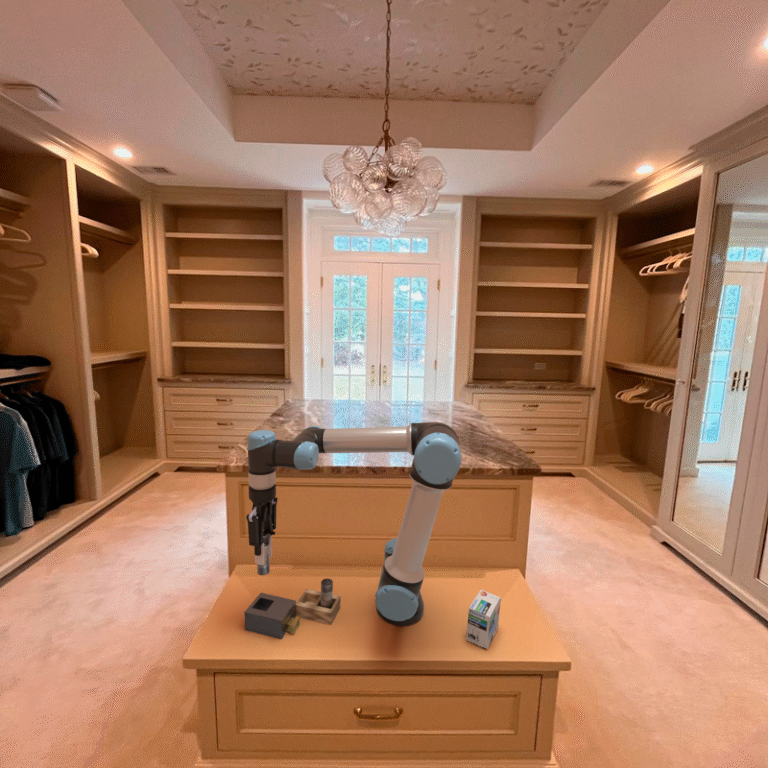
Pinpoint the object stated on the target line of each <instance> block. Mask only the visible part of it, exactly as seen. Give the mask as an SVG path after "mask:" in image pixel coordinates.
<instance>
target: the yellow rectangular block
mask: <svg viewBox="0 0 768 768" xmlns="http://www.w3.org/2000/svg"><path fill="white" fill-rule="evenodd" d="M300 621H301V618H300V617H297V616H296V617H295V618H293V617H290V619H289V620H288V622H287V623H286V625H285V632H288V633H289V634H291V635H294V634H295V633H296V631H297V630H298V628H299V627H300Z"/></svg>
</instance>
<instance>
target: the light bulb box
mask: <svg viewBox="0 0 768 768" xmlns="http://www.w3.org/2000/svg"><path fill="white" fill-rule="evenodd" d="M501 602H502V597H500V596H497V595H495V594H493V593H491V592H488V591H485V590H484V589H480V590H479V591H478V593H477V595H476V596H475V597H474V599H473V600H472V602H471V604H470V605H469V607H468V612H467V615H468V616H467V626H466V636H465V637H466V638H465V639H466V641H467V642H469V643H471V642H472V643H471V644H473V643H475V644H477V645H479V646H478V647H480V646H482V647H484V648H488V647H490V646H491V644H490V643H492V642H491V641H493V640H494V638H495V636H496V634H497V632H498V630H499V622H500V621H499V620H500V613H501V611H500V610H501ZM497 629H498V630H497ZM496 631H497V632H496ZM495 633H496V634H495ZM494 635H495V636H494ZM493 637H494V638H493ZM492 639H493V640H492ZM475 644H474V645H475ZM477 645H476V646H477ZM489 645H490V646H489ZM482 647H481V648H482ZM484 648H483V649H484ZM488 649H489V648H488Z"/></svg>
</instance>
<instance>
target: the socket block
mask: <svg viewBox="0 0 768 768" xmlns="http://www.w3.org/2000/svg"><path fill="white" fill-rule="evenodd" d="M296 603H297V600H294V599H290V598H287V597H281V596H277V595H274V594H268V593H264V592H259V594H258V596H256V598H255V599H254V600H253V601H252V602H251V604H249V605H248V607H247V608H246V610H245V611H244V613H243V614H244V631H247V632H251V633H256V634H259V635H264V636H267V637H271V638H275V639H277V640H283V638H284V637H285V635H286V631H285V625H286V623H287V622H288V620H289V619H290V617H293V618H295V617H296Z"/></svg>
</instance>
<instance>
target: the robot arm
mask: <svg viewBox="0 0 768 768" xmlns="http://www.w3.org/2000/svg"><path fill="white" fill-rule="evenodd" d="M246 450H247V466H248V470H247V471H248V473H247V474H248V499H249V501H251V502H252V507H251V513H250V514H248V513H247V514H246V517H245V518H246V521H247V531H248V545H249V546H251V547H254V564H255V565H257V564H259V565H264V564H265V559H264V543H262V542H263V531H267V532H269V533H270V558H272V556H273V536H275V535H276V531H275V530H276V529H277V505H278V501H279V498H278V497H277V485H276V483H277V475H276V471H277V469H276V468H285V469H295V470H302V471H303V470H313V469H315V468H316V466H317V464H318V462H319V455H320V454H363V453H365V454H368V453H372V454H373V453H409V455H411V456H413V460H412V463H411V467H410V469H409V474H408V475H409V477H410V479H411V480H412V484H411V488H410V490H409V494H408V498H407V501H406V506H405V509H404V512H403V517H402V519H401V522H400V526H399V531H398V534H397V536H396V537H397V538H392V539H390V540H389V539H388V541H386V543H385V544H384V548H383V549H384V550H383V551H384V558H383V564H382V568H381V572H380V575H379V576H380V577H379V581H378V585H377V589H376V591H375V599H374V601H375V606H376V612H377V615H378V616H379V618H380V619H381V620H383V621H384V622H385V623H388V624H390V625H393V626H398V627H408V626H411V625H414V624H417V622H419V621H420V620H422V618H423V616H424V610H425V607H424V606H425V605H424V603H425V602H424V599H423V595H422V593H421V590H422V586H423V585H422V584H423V583H424V582H423V581H424V579H425V575H426V572H425V571H426V570H425V569H424V567H423V563H424V559H425V555H426V553H427V549H428V546H429V542H430V539H431V536H432V533H433V529H434V525H435V523H436V518H437V515H438V514H439V513H438V512H439V509H440V506H441V502H442V498H443V496H444V493H445V491H448V490H450V489H451V488H452V486H453V482H454V479H455V477H456V476H457V474H458V472H459V471H460V468H461V465H462V452H461V448H460V440H459V436H458V434H457V433H456V431H455V430H454V428H453V427H451V426H450V425H449V424H445V423H443V422H435V421H432V422H430V421H428V422H410V423H409V425H407V426H386V427H385V426H384V427H383V426H382V427H381V426H380V427H378V426H377V427H375V426H374V427H373V426H372V427H345V428H343V427H342V428H338V427H337V428H322V427H320V426H318V425H311V426H308V427H307V428H304V429H303V430H302V431H301V432H300V433H299V434H298V435H297V436H295V437H294V438H293V439H292V440H283V439H277V436H276V433H275V432H274V431H272V430H269V429H259V430H255V431H252V432H250V433H249V434H248V437H247V448H246Z"/></svg>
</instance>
